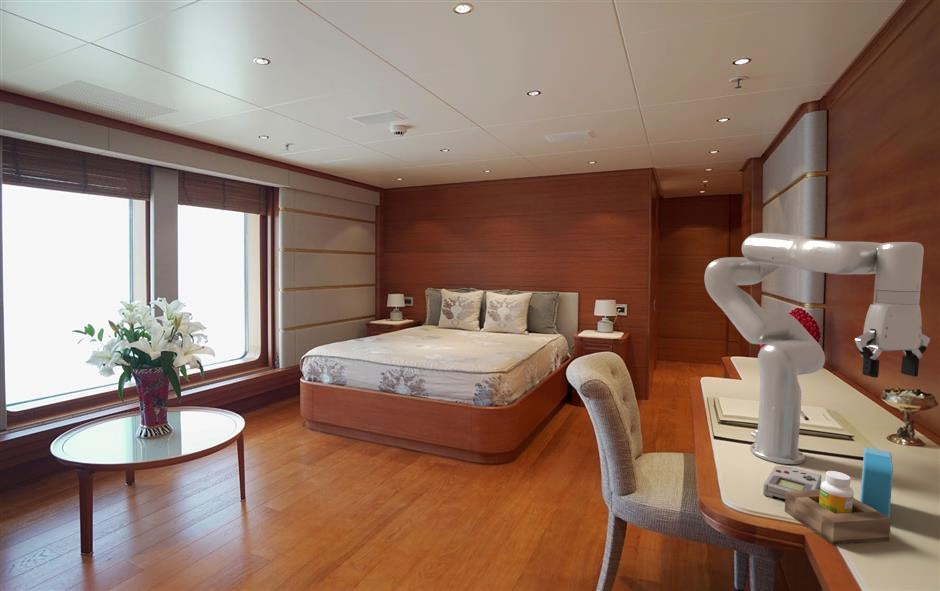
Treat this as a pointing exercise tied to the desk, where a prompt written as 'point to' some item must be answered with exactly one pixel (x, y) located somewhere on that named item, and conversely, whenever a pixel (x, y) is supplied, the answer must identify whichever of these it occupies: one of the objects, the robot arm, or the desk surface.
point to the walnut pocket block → (837, 519)
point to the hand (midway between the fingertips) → (889, 375)
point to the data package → (877, 480)
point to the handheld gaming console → (790, 481)
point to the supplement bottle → (836, 493)
